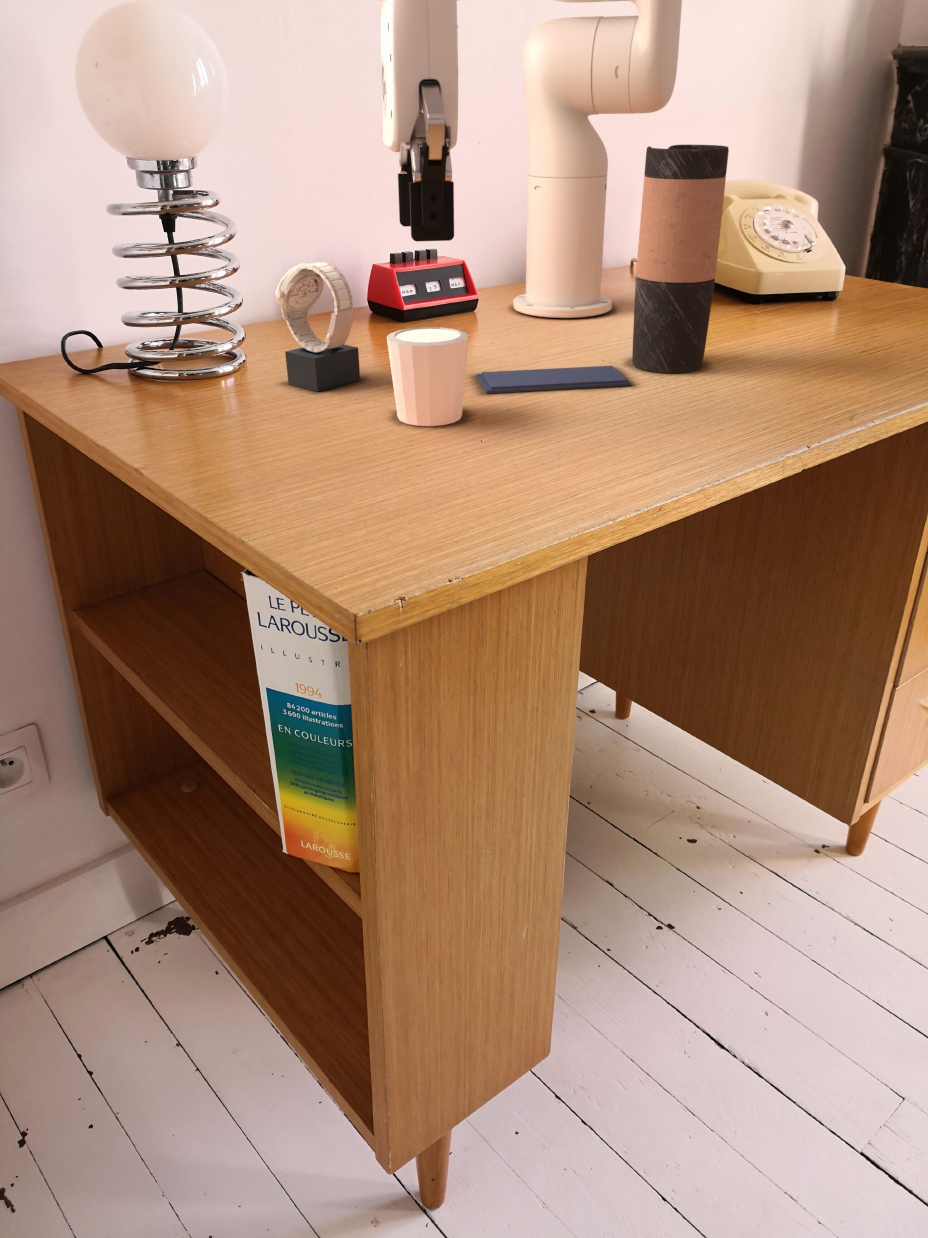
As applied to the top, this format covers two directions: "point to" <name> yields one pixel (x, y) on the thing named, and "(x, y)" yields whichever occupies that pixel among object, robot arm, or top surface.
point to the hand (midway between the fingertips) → (425, 232)
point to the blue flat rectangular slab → (551, 379)
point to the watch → (315, 359)
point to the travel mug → (677, 255)
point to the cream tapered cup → (428, 374)
